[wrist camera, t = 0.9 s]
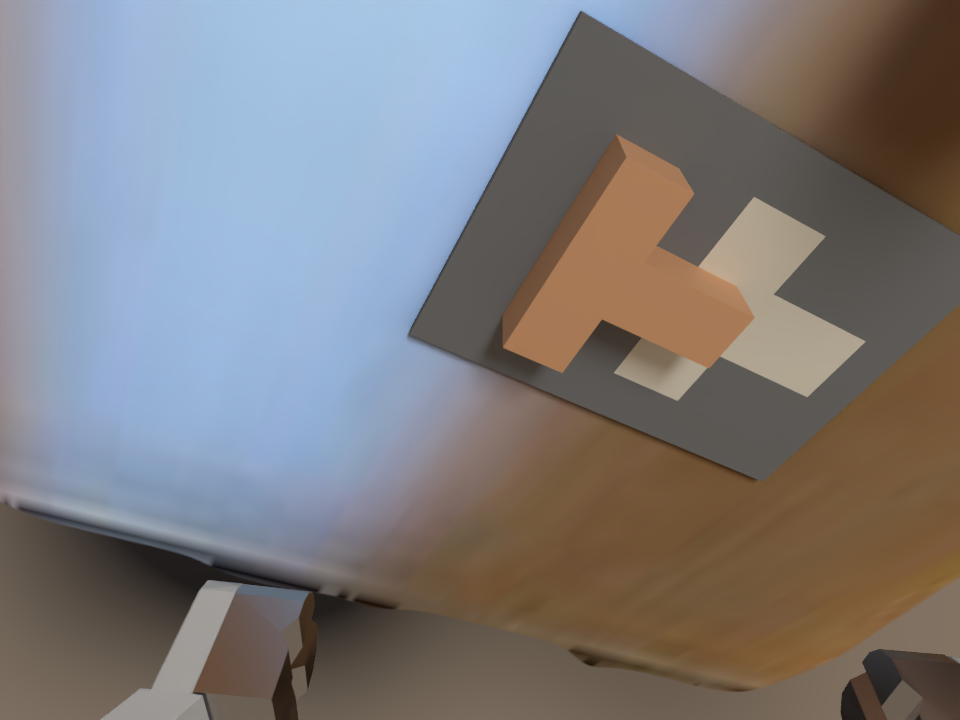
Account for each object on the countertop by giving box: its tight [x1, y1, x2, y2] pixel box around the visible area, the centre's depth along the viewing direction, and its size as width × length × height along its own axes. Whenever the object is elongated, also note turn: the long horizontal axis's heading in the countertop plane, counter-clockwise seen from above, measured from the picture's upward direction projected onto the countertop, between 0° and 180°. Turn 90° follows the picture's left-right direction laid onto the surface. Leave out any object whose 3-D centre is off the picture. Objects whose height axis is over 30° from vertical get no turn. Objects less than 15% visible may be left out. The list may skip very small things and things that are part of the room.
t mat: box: [409, 11, 960, 482], centre depth 35 cm, size 25×18×1 cm
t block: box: [502, 134, 755, 373], centre depth 33 cm, size 10×11×3 cm
